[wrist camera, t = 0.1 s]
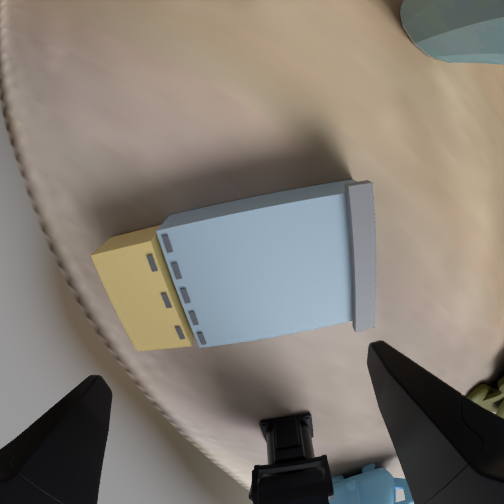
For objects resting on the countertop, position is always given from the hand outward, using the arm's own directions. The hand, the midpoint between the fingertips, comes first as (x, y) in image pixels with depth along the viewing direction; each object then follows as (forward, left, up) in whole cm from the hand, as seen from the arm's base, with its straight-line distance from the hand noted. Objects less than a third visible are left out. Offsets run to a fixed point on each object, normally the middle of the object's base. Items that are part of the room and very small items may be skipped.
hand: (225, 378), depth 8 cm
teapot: (-59, -12, -15) cm, 62 cm away
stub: (-3, +8, -15) cm, 17 cm away
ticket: (-3, -2, -15) cm, 15 cm away
